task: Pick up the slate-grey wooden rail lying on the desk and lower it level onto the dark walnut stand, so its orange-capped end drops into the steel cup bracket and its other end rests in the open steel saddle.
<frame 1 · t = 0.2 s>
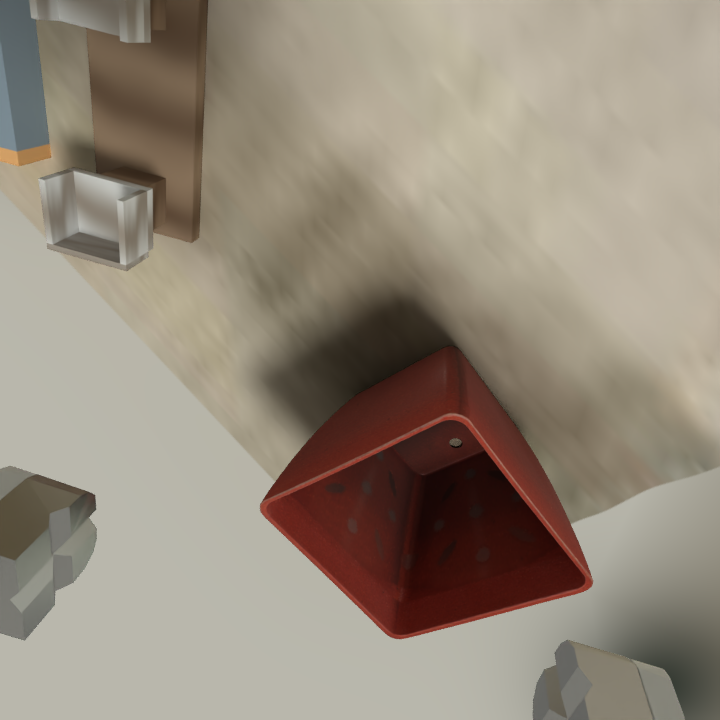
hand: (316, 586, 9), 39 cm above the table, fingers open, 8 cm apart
stand: (152, 101, 44), on the table
rail: (14, 25, 43), on the table
plant pot: (436, 414, 55), on the table
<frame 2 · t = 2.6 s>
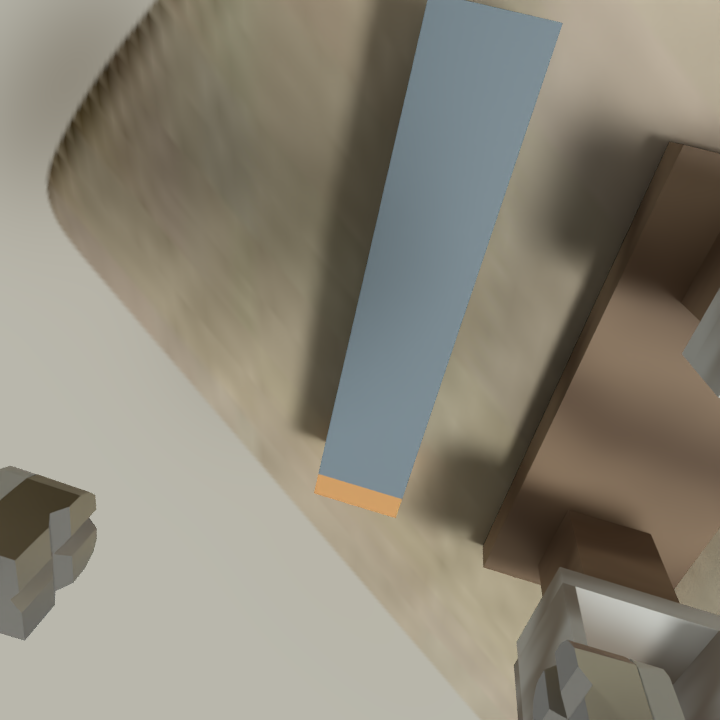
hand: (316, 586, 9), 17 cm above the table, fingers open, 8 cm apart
stand: (653, 412, 24), on the table
rail: (418, 282, 24), on the table
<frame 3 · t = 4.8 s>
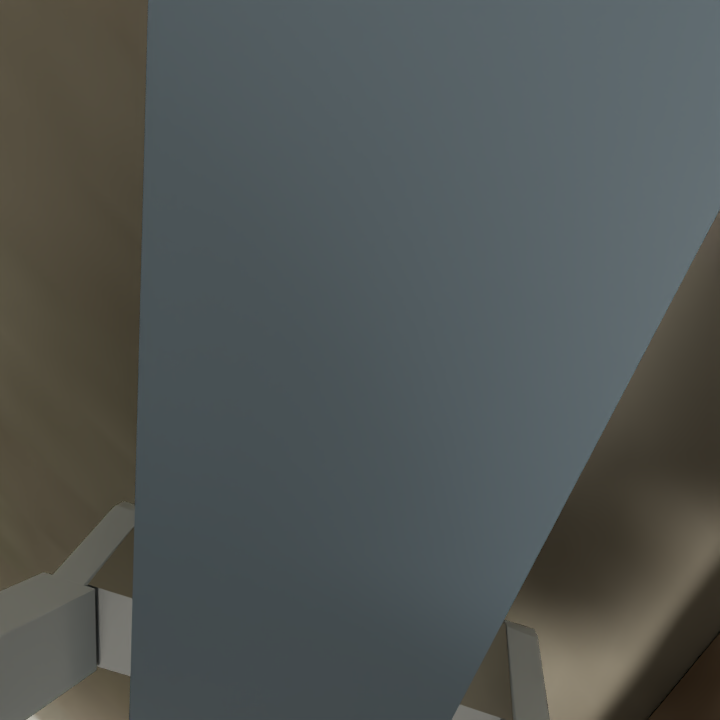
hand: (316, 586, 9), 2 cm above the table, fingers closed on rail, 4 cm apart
rail: (339, 516, 10), on the table, touching gripper
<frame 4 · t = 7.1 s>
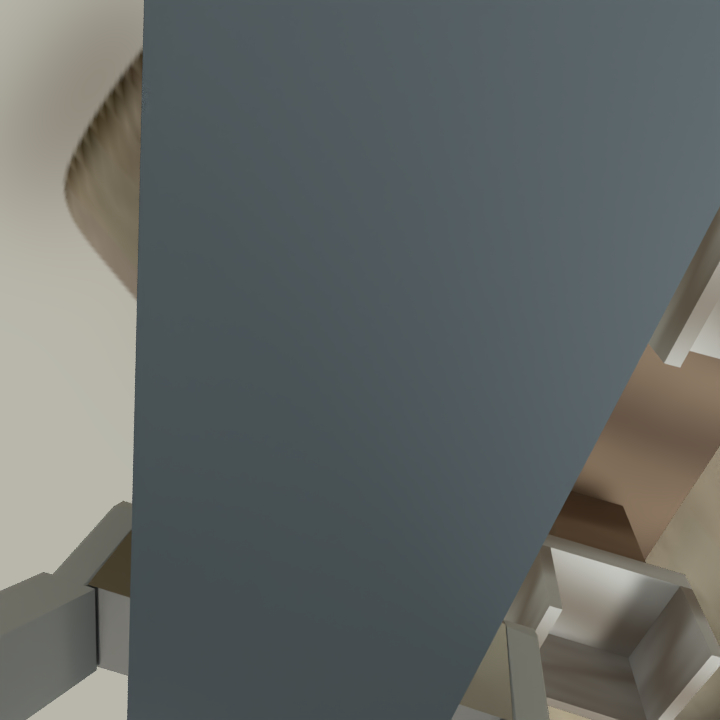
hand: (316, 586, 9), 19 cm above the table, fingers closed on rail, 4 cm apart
stand: (623, 392, 26), on the table
rail: (337, 519, 10), point 17 cm above the table, touching gripper
when the fingers open (10 cm above the table, at t = 9.6 s): rail drops 1 cm, resting on stand.
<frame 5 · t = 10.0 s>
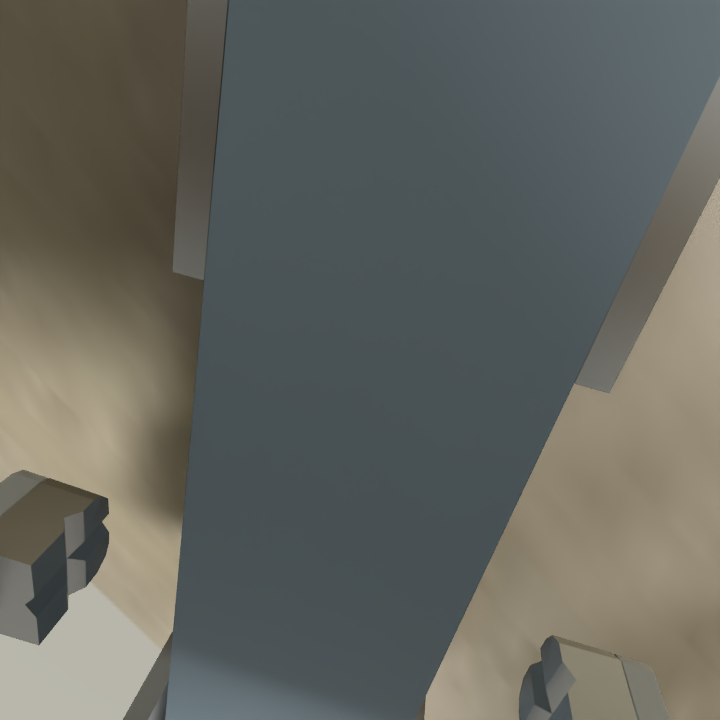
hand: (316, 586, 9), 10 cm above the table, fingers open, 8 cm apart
stand: (385, 366, 18), on the table
rail: (350, 483, 11), point 7 cm above the table, touching stand
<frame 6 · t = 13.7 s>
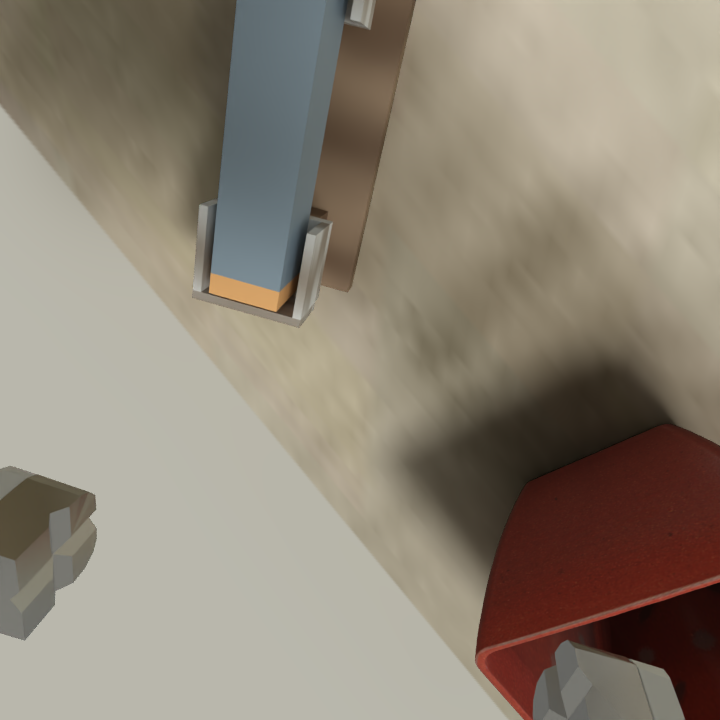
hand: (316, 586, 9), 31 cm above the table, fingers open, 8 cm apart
stand: (320, 117, 35), on the table
rail: (291, 110, 29), point 7 cm above the table, touching stand
plant pot: (629, 507, 43), on the table
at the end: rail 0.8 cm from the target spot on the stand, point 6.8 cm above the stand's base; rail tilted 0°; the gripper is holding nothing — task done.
